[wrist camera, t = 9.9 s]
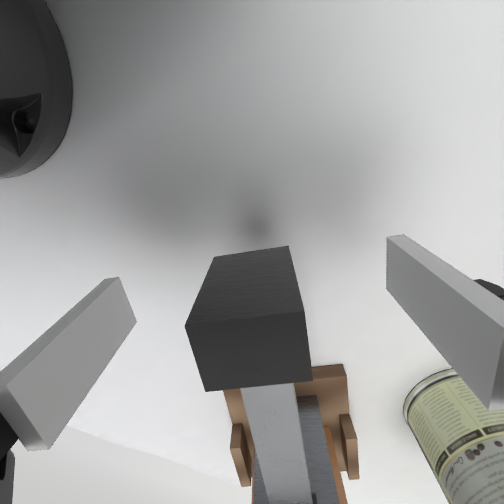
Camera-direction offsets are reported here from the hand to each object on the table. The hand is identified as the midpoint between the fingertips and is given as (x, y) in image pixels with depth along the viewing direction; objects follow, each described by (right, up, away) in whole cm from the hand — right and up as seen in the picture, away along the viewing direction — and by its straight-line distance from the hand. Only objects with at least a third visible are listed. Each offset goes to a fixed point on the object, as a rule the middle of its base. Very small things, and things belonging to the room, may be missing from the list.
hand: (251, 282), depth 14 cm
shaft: (+2, -7, +4) cm, 9 cm away
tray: (+4, -17, +17) cm, 24 cm away
